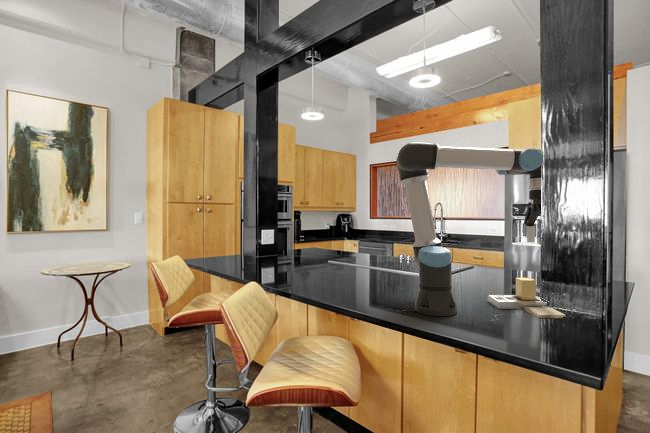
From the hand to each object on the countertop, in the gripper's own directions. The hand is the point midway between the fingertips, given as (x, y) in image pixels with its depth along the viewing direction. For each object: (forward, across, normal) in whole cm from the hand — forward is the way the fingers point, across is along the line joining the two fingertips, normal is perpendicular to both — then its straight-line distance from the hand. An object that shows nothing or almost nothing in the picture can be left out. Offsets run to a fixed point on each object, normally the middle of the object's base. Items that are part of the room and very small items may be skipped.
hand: (539, 243), depth 133 cm
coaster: (+24, -15, +6) cm, 29 cm away
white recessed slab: (+24, -4, +10) cm, 26 cm away
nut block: (+23, -4, +7) cm, 24 cm away
